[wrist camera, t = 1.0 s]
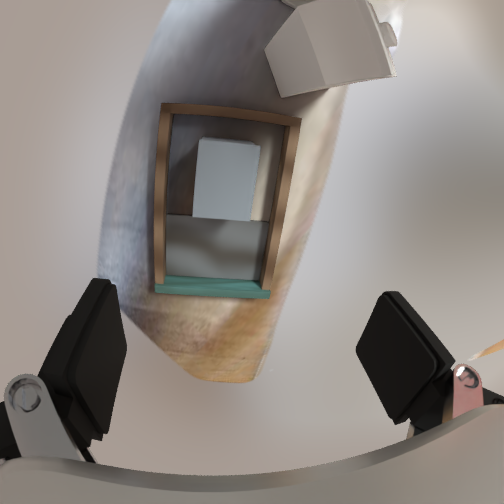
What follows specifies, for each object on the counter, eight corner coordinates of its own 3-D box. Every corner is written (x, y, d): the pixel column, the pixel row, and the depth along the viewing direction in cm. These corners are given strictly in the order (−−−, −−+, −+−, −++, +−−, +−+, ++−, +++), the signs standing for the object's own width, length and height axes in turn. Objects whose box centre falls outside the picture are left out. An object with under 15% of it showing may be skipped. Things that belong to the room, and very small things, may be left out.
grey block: (202, 136, 32) (199, 139, 25) (252, 141, 33) (261, 146, 27) (196, 198, 35) (192, 216, 29) (243, 202, 36) (249, 221, 30)
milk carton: (280, 98, 31) (349, 79, 14) (263, 49, 27) (313, -14, 10) (330, 87, 30) (427, 73, 14) (314, 40, 27) (398, -9, 10)
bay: (165, 104, 29) (160, 102, 26) (295, 118, 32) (303, 118, 29) (158, 281, 40) (155, 292, 37) (265, 287, 43) (269, 298, 40)
